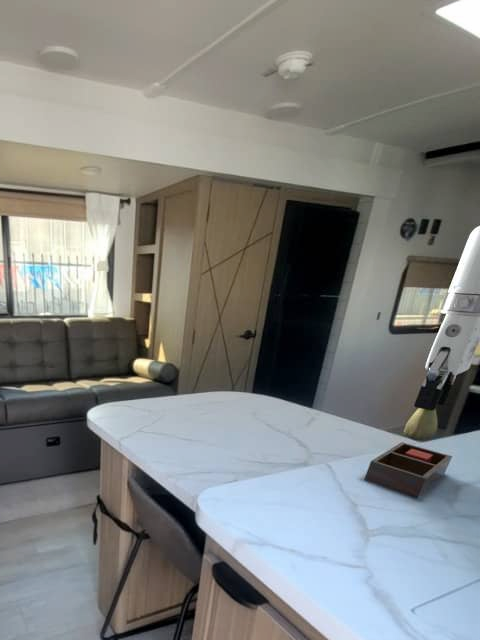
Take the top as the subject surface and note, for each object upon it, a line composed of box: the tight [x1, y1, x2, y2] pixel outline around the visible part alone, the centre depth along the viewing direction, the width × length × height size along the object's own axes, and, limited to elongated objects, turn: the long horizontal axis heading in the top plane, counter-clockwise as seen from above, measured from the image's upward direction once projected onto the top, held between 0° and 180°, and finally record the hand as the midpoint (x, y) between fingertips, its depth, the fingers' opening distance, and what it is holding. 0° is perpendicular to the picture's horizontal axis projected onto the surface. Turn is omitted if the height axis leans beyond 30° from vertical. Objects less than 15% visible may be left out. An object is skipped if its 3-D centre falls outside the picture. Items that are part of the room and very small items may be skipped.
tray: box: [363, 441, 453, 500], centre depth 87 cm, size 18×10×4 cm, turn 129°
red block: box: [405, 449, 433, 463], centre depth 89 cm, size 4×4×4 cm
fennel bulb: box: [403, 379, 444, 441], centre depth 78 cm, size 6×5×12 cm
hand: (429, 405), depth 78 cm, fingers closed on fennel bulb, 5 cm apart
